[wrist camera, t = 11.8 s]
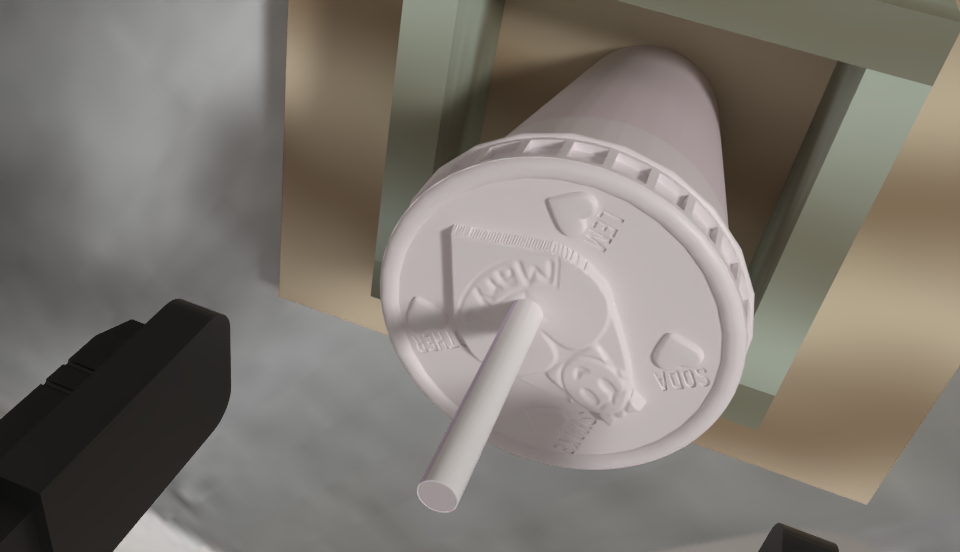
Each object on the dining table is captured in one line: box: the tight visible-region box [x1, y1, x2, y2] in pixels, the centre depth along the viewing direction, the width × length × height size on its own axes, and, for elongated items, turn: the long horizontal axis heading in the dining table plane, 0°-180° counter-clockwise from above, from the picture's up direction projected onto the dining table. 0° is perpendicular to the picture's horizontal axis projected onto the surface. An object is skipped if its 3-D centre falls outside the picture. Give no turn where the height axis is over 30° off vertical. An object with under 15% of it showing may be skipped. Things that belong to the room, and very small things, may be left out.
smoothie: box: [380, 45, 755, 513], centre depth 17 cm, size 6×6×14 cm
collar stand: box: [279, 0, 960, 505], centre depth 21 cm, size 20×20×6 cm
